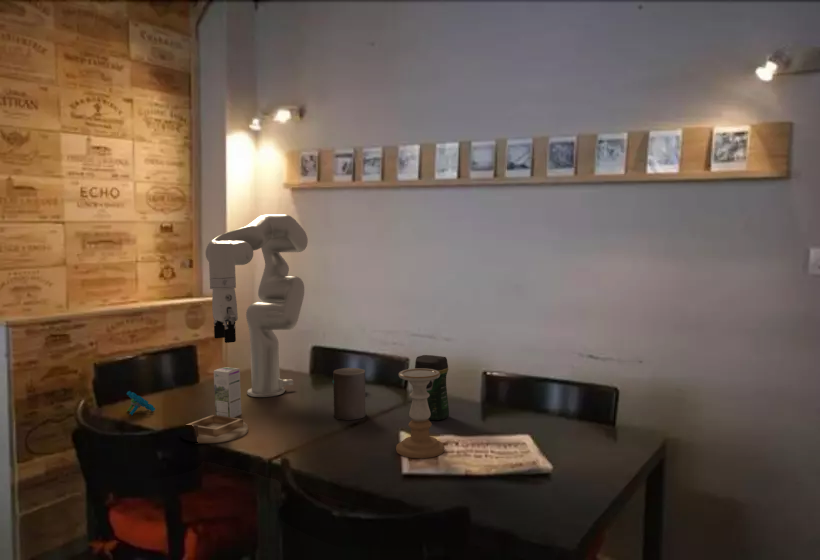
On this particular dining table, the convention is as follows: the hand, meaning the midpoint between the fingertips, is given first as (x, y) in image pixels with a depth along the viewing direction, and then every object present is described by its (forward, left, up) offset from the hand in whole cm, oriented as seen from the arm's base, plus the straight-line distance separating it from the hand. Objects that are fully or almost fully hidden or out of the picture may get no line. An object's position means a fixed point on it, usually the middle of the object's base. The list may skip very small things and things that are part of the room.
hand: (224, 340), depth 208 cm
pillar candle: (-30, +22, -24) cm, 44 cm away
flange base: (+9, +15, -23) cm, 29 cm away
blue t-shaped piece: (+21, -20, -24) cm, 37 cm away
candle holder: (-29, +61, -24) cm, 72 cm away
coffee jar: (-49, +38, -24) cm, 67 cm away
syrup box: (0, 0, -24) cm, 24 cm away
